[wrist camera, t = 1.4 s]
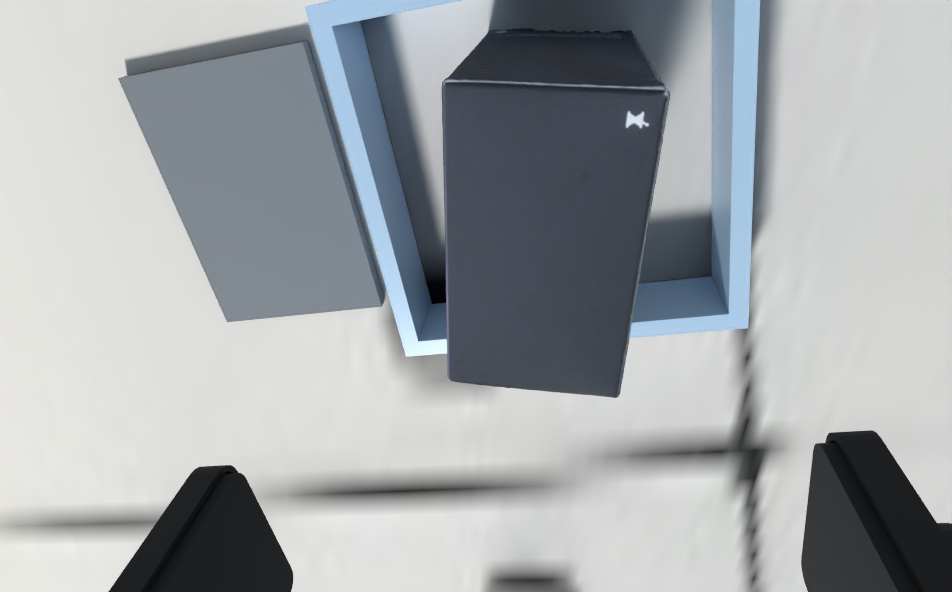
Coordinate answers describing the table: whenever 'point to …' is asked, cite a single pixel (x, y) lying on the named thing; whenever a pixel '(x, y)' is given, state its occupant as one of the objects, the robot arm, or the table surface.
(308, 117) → the mat
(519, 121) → the small box
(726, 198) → the bin
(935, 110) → the table surface
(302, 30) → the table surface
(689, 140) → the table surface
